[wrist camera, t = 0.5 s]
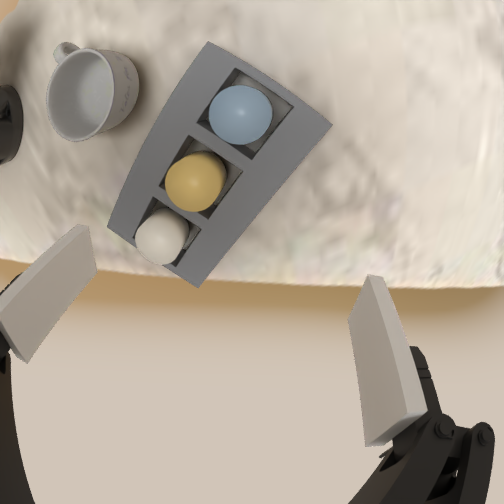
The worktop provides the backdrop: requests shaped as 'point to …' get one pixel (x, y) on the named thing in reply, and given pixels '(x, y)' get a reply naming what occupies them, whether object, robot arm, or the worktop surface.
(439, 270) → the worktop surface
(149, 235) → the button ivory
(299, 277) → the worktop surface
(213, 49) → the three ball holder
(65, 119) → the teacup
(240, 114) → the button blue
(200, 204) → the button ochre
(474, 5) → the worktop surface
